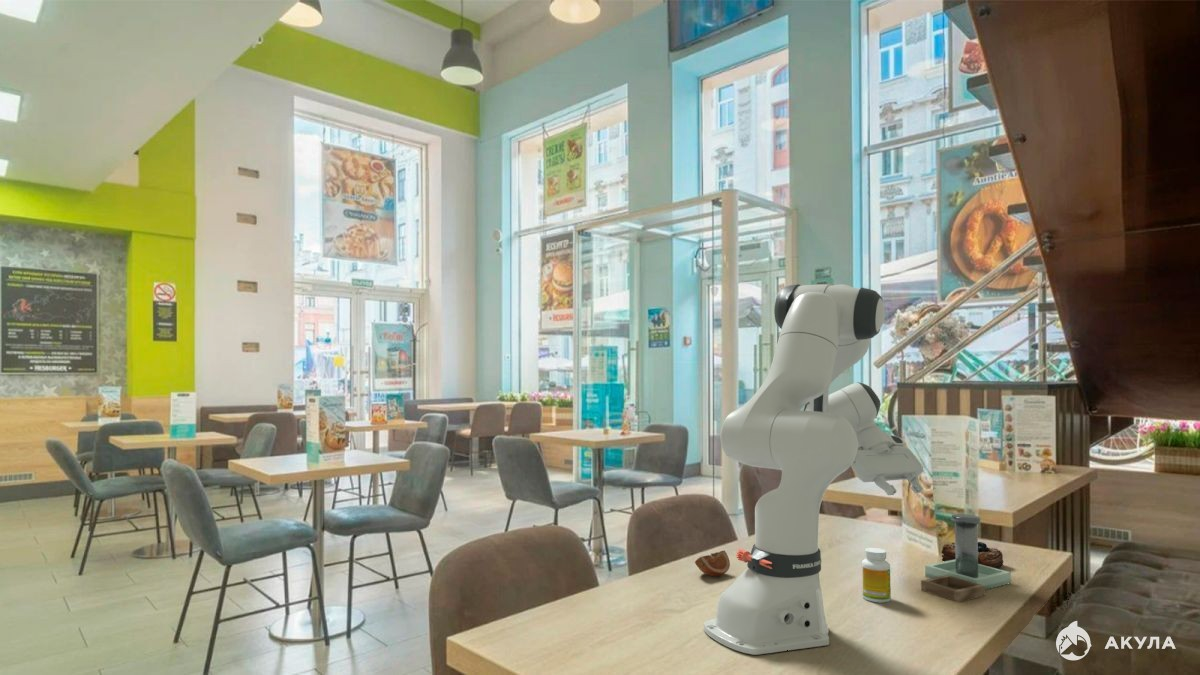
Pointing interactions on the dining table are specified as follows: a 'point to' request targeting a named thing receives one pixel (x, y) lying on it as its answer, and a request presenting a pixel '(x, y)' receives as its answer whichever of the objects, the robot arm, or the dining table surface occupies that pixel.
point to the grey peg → (966, 544)
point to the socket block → (940, 587)
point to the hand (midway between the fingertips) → (906, 492)
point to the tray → (985, 577)
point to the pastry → (985, 555)
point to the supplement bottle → (876, 576)
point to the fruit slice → (714, 563)
